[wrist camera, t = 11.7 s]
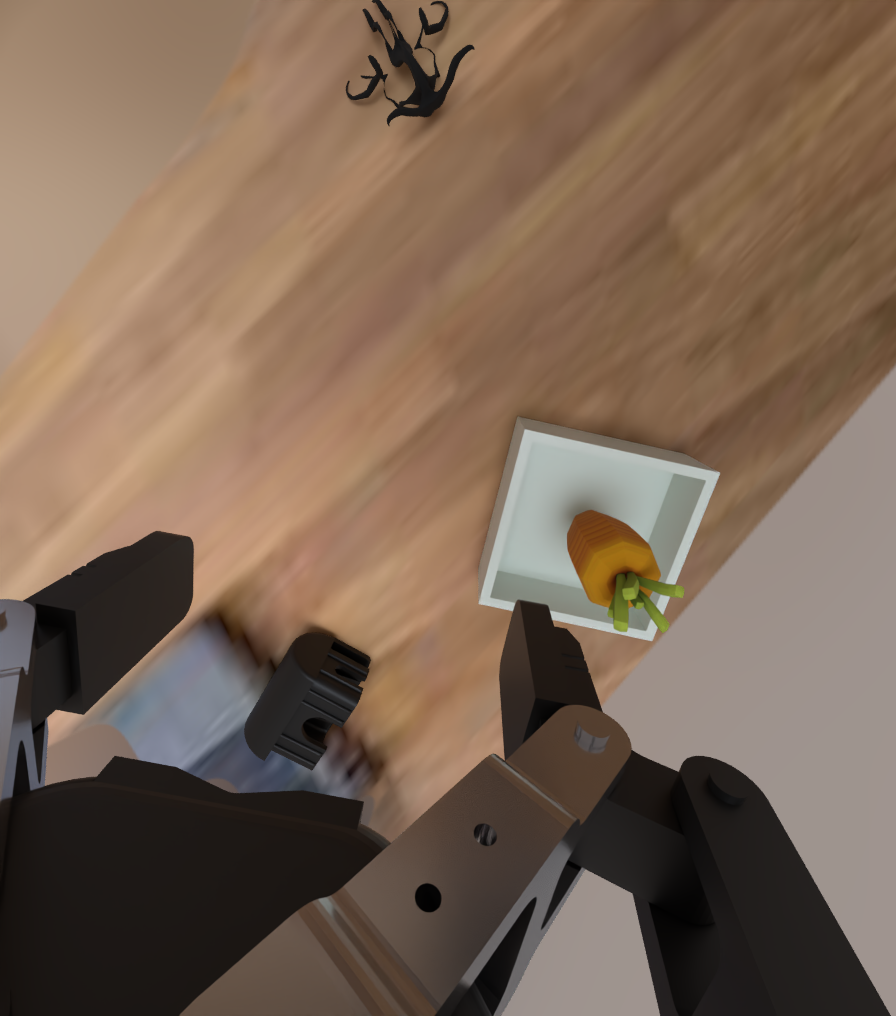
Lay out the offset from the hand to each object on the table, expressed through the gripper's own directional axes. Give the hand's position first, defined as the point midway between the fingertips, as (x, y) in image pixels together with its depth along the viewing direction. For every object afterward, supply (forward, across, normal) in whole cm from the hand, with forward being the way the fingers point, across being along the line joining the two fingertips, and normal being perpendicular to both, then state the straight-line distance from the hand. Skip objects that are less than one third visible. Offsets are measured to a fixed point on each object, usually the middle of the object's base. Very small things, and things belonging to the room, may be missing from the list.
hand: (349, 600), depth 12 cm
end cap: (+29, +7, +26) cm, 39 cm away
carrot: (+28, -13, +5) cm, 31 cm away
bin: (+28, -13, +6) cm, 32 cm away
